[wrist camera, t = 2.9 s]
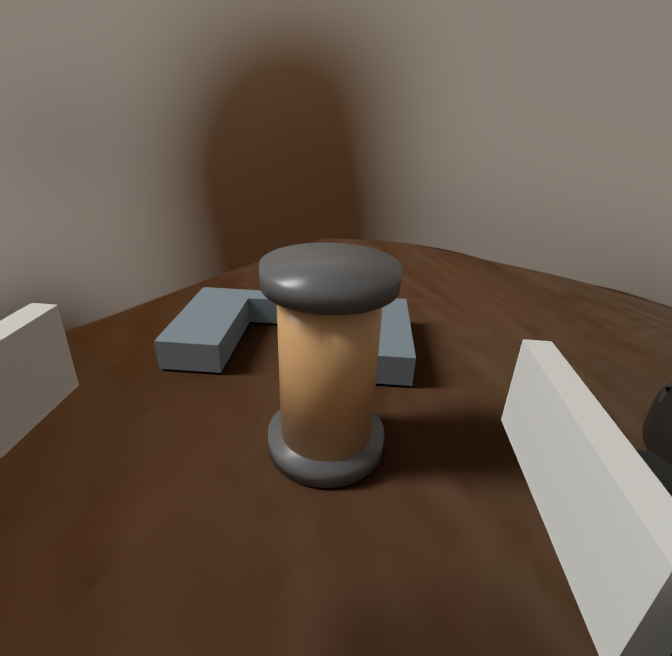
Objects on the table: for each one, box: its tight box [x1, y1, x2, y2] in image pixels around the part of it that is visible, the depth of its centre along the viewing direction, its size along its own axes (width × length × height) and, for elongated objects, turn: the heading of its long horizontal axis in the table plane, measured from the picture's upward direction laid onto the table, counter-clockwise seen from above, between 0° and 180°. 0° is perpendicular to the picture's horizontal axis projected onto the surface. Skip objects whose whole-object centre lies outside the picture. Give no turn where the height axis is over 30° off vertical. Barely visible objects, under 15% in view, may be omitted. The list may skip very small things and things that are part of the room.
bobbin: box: [259, 243, 402, 488], centre depth 25 cm, size 7×7×12 cm
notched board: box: [154, 287, 416, 386], centre depth 38 cm, size 20×11×2 cm, turn 86°
